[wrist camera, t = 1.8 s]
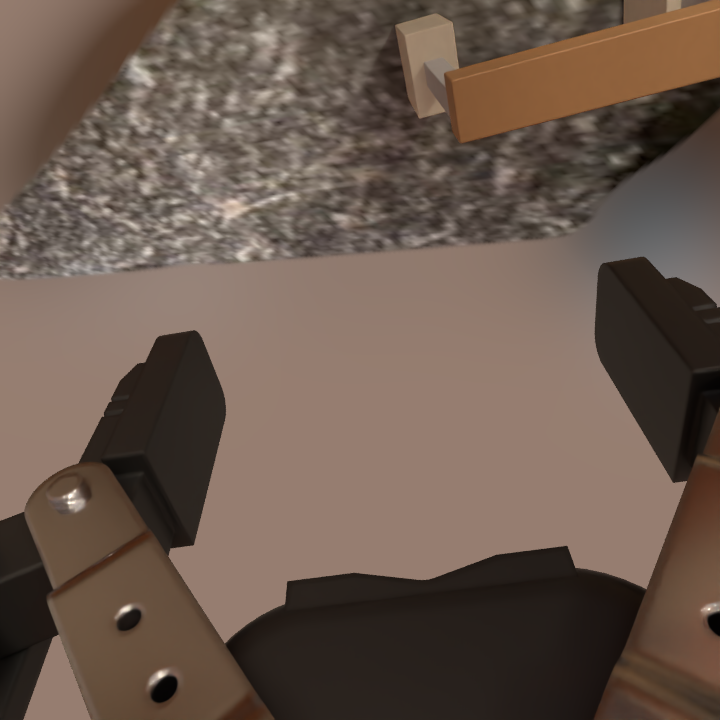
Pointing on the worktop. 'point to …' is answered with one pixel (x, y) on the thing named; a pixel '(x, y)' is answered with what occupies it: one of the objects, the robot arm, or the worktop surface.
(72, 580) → the robot arm
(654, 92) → the brown blocky piece
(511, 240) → the worktop surface
